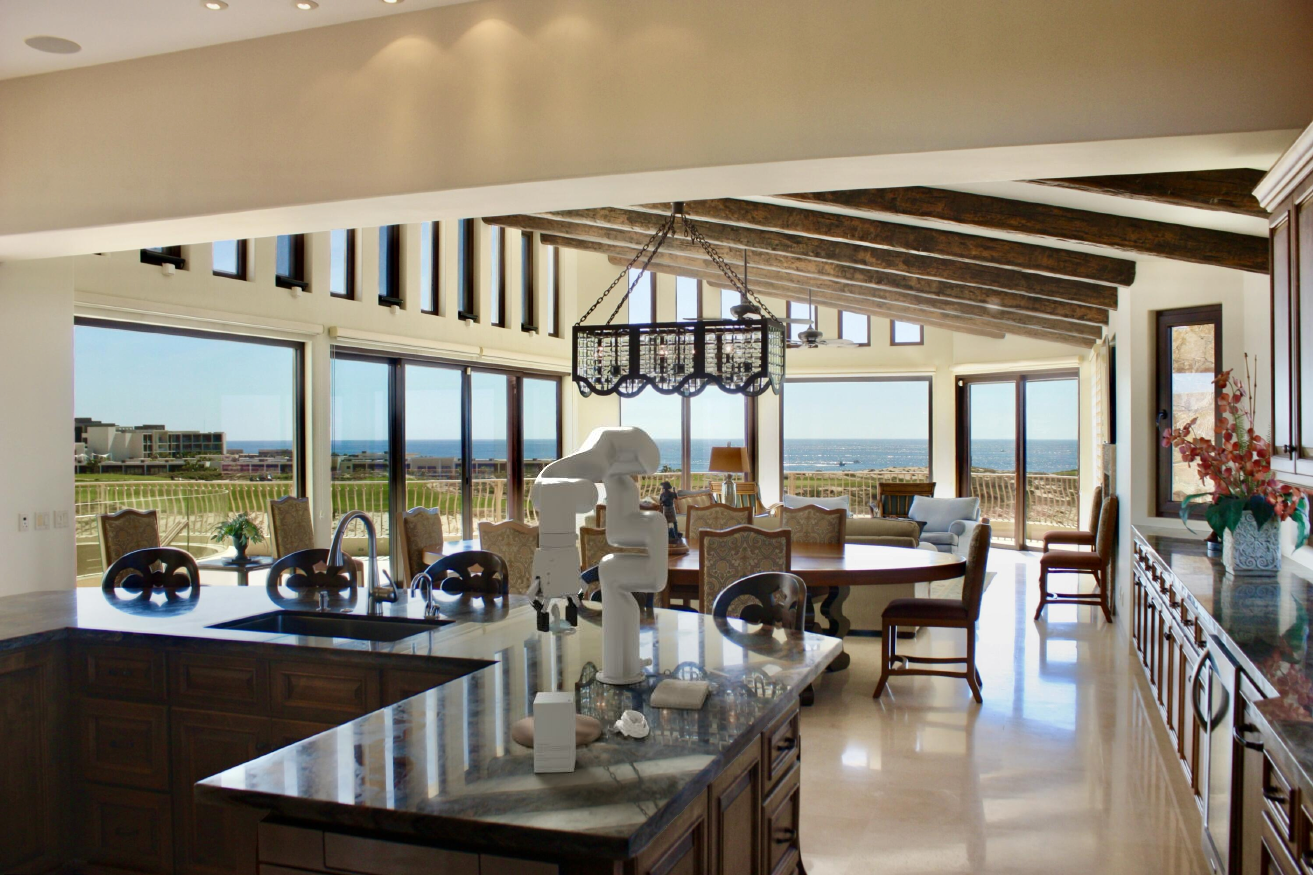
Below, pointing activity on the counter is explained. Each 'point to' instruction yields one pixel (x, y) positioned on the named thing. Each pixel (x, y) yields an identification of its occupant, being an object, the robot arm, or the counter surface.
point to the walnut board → (584, 730)
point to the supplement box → (554, 732)
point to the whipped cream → (632, 724)
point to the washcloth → (679, 694)
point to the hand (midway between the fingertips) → (557, 627)
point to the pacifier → (559, 623)
